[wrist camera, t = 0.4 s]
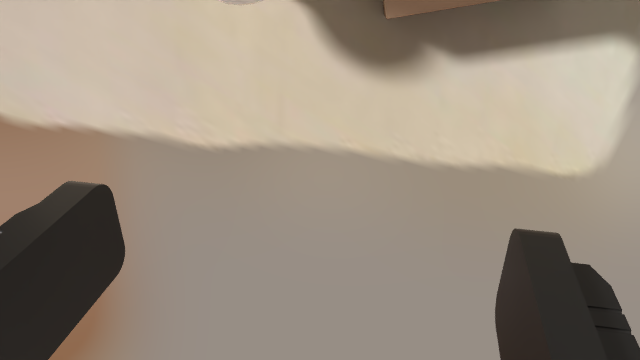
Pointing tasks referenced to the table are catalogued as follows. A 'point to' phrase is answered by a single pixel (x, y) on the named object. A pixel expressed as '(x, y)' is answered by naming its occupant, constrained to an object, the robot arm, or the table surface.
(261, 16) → the table surface
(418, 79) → the table surface
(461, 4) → the stand
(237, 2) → the lightbulb
